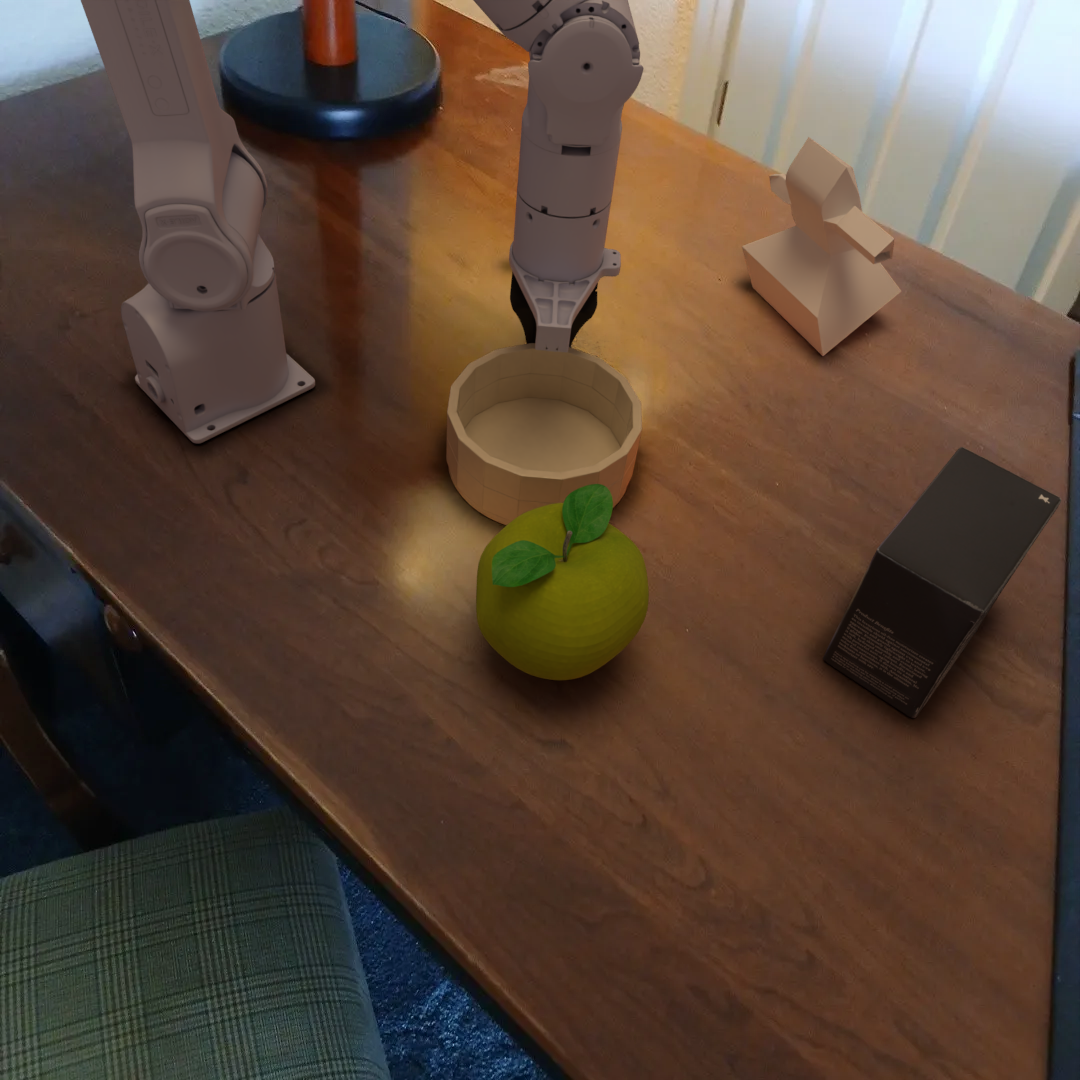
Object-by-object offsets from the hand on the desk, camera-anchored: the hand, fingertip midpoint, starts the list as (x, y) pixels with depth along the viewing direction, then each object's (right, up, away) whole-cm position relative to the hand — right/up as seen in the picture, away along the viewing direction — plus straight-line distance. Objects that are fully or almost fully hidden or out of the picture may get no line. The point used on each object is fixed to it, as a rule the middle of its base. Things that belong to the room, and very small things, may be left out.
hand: (545, 365), depth 73 cm
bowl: (0, -7, -3) cm, 8 cm away
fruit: (0, -18, -13) cm, 22 cm away
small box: (+22, -18, -10) cm, 30 cm away
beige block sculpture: (+21, +7, +10) cm, 24 cm away
